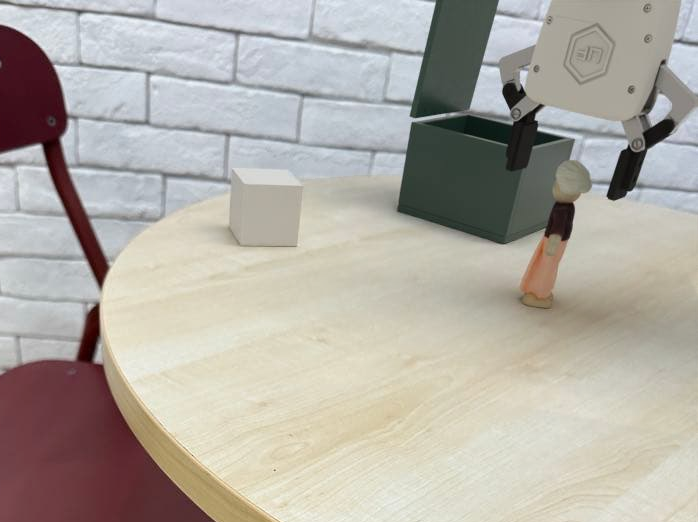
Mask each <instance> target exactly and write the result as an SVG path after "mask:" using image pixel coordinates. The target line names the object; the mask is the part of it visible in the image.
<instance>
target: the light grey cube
mask: <svg viewBox="0 0 698 522" xmlns="http://www.w3.org/2000/svg"><path fill="white" fill-rule="evenodd" d="M230 174H231V177H230V197H229V215H228V228H229V230H230V231H231V233H232V234H233V236H234V238H235V239H236V241H237V243H238V244H239V245H240V246H241V247H242V246H244V247H248V246H249V247H254V246H255V247H298V239H299V231H300V222H301V221H300V220H301V210H302V201H303V192H304V191H303V190H304V185H303V184H302V183H301V181H299V180H298V179H297V178H296V176H294V175H293V174H292V172H291V171H290V170H288V169H277V168H276V169H275V168H274V169H273V168H249V167H248V168H247V167H231V173H230Z"/></svg>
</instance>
